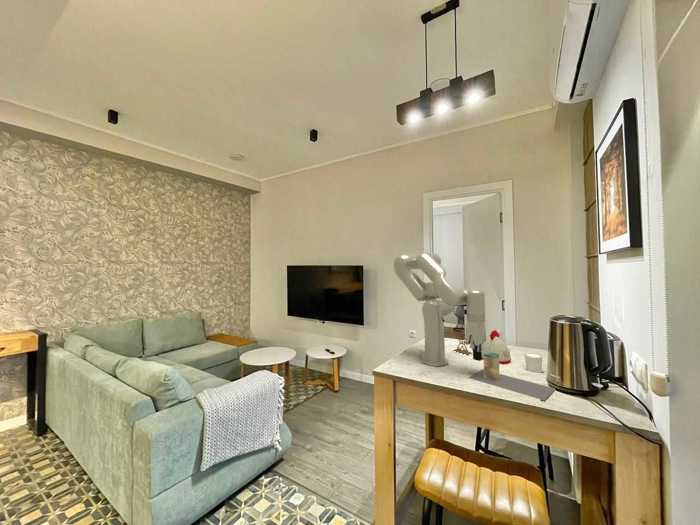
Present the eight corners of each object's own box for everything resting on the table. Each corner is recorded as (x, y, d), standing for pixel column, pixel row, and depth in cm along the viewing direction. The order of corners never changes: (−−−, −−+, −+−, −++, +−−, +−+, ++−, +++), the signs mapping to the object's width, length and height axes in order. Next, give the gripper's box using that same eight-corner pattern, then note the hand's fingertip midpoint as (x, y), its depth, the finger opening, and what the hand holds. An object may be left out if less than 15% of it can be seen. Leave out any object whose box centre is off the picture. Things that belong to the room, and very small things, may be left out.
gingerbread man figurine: (471, 354, 155) (471, 332, 155) (467, 355, 153) (467, 333, 153) (457, 350, 163) (457, 329, 163) (453, 351, 160) (452, 330, 160)
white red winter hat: (474, 359, 147) (474, 330, 147) (488, 353, 155) (488, 326, 155) (502, 366, 136) (502, 335, 136) (515, 360, 144) (515, 330, 144)
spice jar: (483, 377, 122) (483, 354, 122) (488, 374, 125) (488, 351, 125) (494, 380, 119) (494, 356, 119) (499, 377, 122) (498, 354, 122)
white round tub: (530, 367, 135) (530, 352, 135) (546, 372, 128) (545, 356, 129) (521, 369, 132) (521, 354, 132) (536, 374, 126) (536, 358, 126)
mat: (467, 378, 122) (467, 377, 122) (482, 370, 132) (482, 369, 132) (544, 401, 101) (544, 400, 101) (555, 389, 111) (555, 388, 111)
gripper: (475, 315, 134) (476, 354, 134) (459, 319, 124) (460, 361, 124) (492, 316, 129) (493, 357, 128) (476, 321, 119) (478, 366, 118)
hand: (477, 359), depth 126 cm, fingers closed
